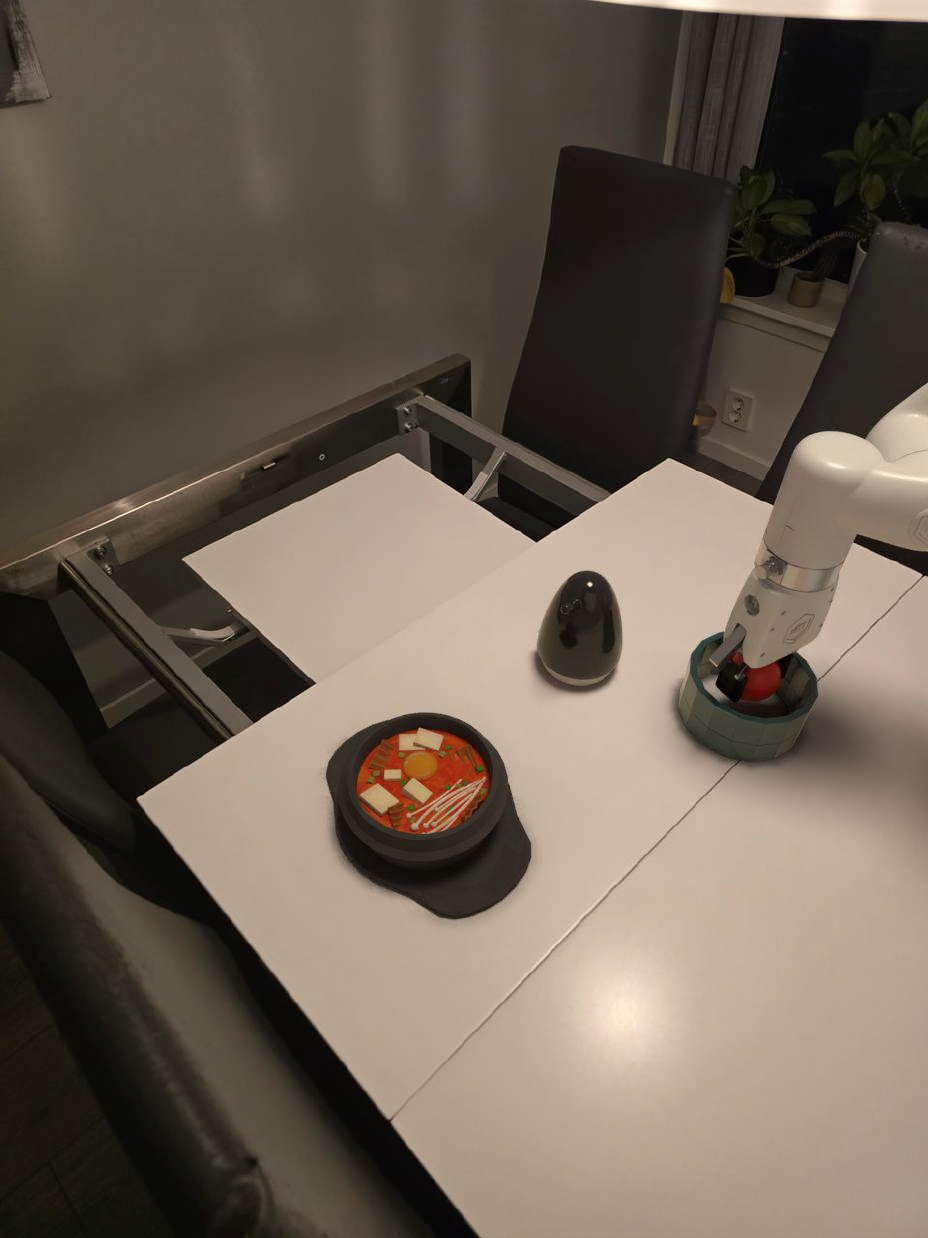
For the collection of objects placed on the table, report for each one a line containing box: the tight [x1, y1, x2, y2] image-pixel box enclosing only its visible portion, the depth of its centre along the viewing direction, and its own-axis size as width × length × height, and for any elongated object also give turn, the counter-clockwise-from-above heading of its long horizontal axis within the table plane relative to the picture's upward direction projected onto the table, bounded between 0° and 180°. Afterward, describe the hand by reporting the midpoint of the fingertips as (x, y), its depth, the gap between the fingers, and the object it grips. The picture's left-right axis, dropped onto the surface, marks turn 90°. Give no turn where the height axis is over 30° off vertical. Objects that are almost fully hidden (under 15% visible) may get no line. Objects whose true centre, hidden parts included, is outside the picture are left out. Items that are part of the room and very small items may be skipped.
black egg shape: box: [536, 569, 624, 687], centre depth 92 cm, size 10×10×15 cm
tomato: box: [732, 653, 781, 703], centre depth 86 cm, size 6×6×7 cm
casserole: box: [325, 711, 532, 917], centre depth 80 cm, size 25×19×8 cm
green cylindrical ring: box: [677, 631, 819, 762], centre depth 89 cm, size 14×14×8 cm
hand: (749, 681), depth 87 cm, fingers closed on tomato, 6 cm apart
